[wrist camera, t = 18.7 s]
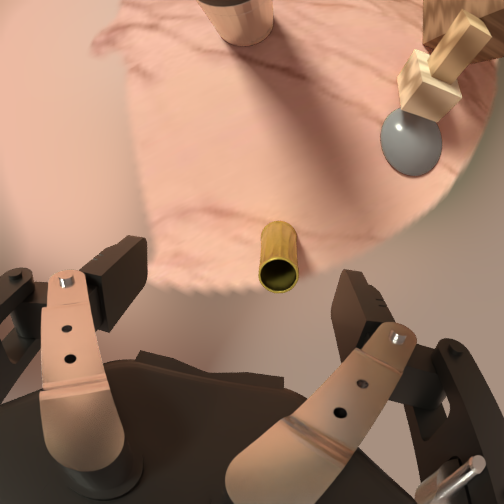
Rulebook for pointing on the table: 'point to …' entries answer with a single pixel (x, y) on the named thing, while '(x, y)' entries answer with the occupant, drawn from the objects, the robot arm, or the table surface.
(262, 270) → the vase
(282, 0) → the table surface
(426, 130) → the grey flat disc
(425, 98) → the mallet
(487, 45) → the herringbone wood pillar
